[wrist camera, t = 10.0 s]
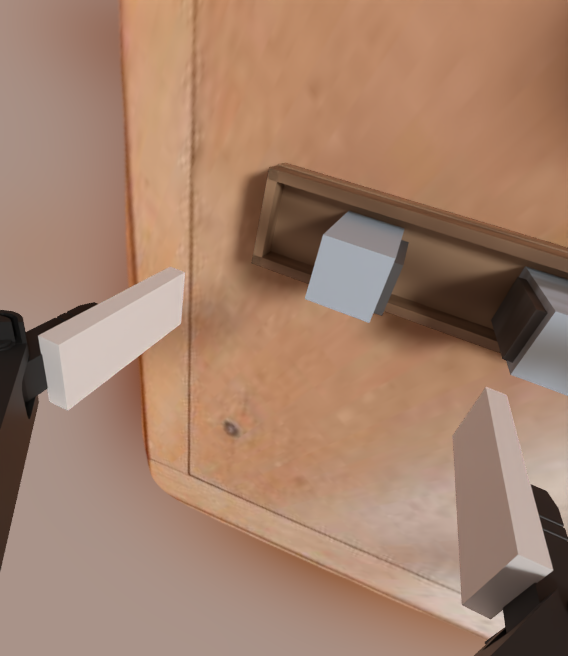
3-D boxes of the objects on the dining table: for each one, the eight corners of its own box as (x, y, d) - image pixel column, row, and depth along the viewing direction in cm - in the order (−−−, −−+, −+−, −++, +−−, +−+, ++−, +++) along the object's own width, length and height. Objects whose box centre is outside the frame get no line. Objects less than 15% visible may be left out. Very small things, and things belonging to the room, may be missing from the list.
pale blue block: (348, 210, 29) (323, 234, 22) (412, 230, 28) (405, 262, 21) (332, 263, 31) (304, 298, 25) (390, 283, 30) (378, 326, 24)
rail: (285, 162, 30) (232, 174, 23) (628, 265, 26) (713, 325, 18) (266, 253, 35) (217, 289, 27) (558, 355, 30) (602, 436, 22)
